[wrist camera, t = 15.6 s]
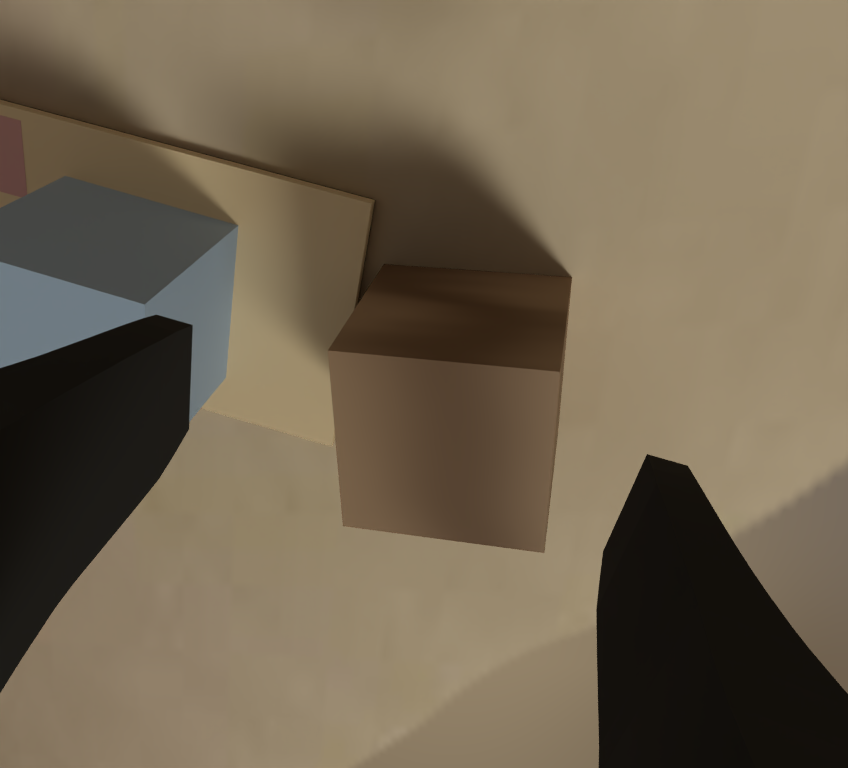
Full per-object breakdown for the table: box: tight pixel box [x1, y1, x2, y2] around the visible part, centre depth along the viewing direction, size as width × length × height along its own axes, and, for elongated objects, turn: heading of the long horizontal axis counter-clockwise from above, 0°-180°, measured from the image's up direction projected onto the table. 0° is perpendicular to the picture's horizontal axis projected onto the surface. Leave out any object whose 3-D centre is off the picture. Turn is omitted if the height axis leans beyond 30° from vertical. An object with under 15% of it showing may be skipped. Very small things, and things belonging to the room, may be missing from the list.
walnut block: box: [328, 264, 572, 553], centre depth 20 cm, size 5×5×5 cm
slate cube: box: [0, 176, 238, 422], centre depth 21 cm, size 5×5×5 cm
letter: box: [0, 100, 375, 447], centre depth 23 cm, size 12×8×1 cm, turn 79°
